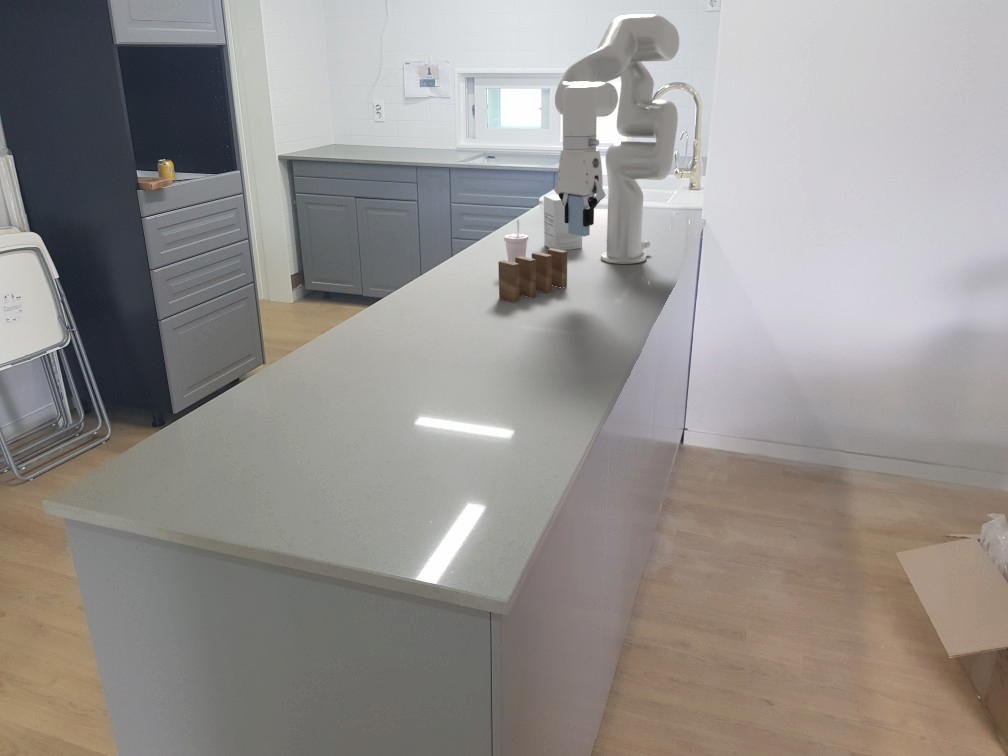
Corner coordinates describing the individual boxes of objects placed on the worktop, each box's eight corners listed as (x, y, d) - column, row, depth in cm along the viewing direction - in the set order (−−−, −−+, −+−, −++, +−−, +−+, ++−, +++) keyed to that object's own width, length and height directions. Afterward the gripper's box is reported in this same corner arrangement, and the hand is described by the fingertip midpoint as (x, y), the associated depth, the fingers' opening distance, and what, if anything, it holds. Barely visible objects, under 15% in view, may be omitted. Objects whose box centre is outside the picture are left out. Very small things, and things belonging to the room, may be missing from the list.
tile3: (537, 287, 194) (536, 252, 190) (551, 291, 190) (551, 255, 187) (531, 289, 193) (531, 253, 189) (546, 293, 189) (546, 256, 186)
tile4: (521, 292, 190) (520, 256, 187) (535, 296, 187) (535, 259, 184) (515, 293, 189) (515, 257, 186) (530, 297, 186) (530, 260, 182)
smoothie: (526, 275, 205) (525, 222, 199) (502, 275, 206) (501, 221, 200) (530, 269, 210) (530, 217, 205) (507, 268, 212) (506, 217, 206)
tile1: (573, 232, 186) (573, 193, 183) (589, 235, 183) (589, 196, 180) (568, 233, 185) (568, 195, 182) (584, 236, 182) (584, 197, 178)
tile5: (504, 297, 187) (504, 260, 183) (519, 301, 183) (518, 263, 180) (499, 298, 186) (498, 261, 182) (513, 302, 182) (513, 265, 179)
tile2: (552, 283, 197) (552, 248, 194) (566, 287, 194) (567, 251, 190) (547, 284, 196) (547, 249, 193) (562, 288, 193) (562, 252, 189)
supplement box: (570, 242, 240) (571, 193, 234) (582, 248, 232) (583, 197, 226) (543, 245, 237) (543, 195, 231) (554, 251, 229) (554, 200, 224)
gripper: (619, 144, 173) (617, 225, 180) (562, 139, 184) (562, 216, 191) (598, 148, 168) (597, 231, 175) (540, 142, 179) (541, 221, 187)
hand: (579, 223), depth 183 cm, fingers closed on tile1, 4 cm apart
